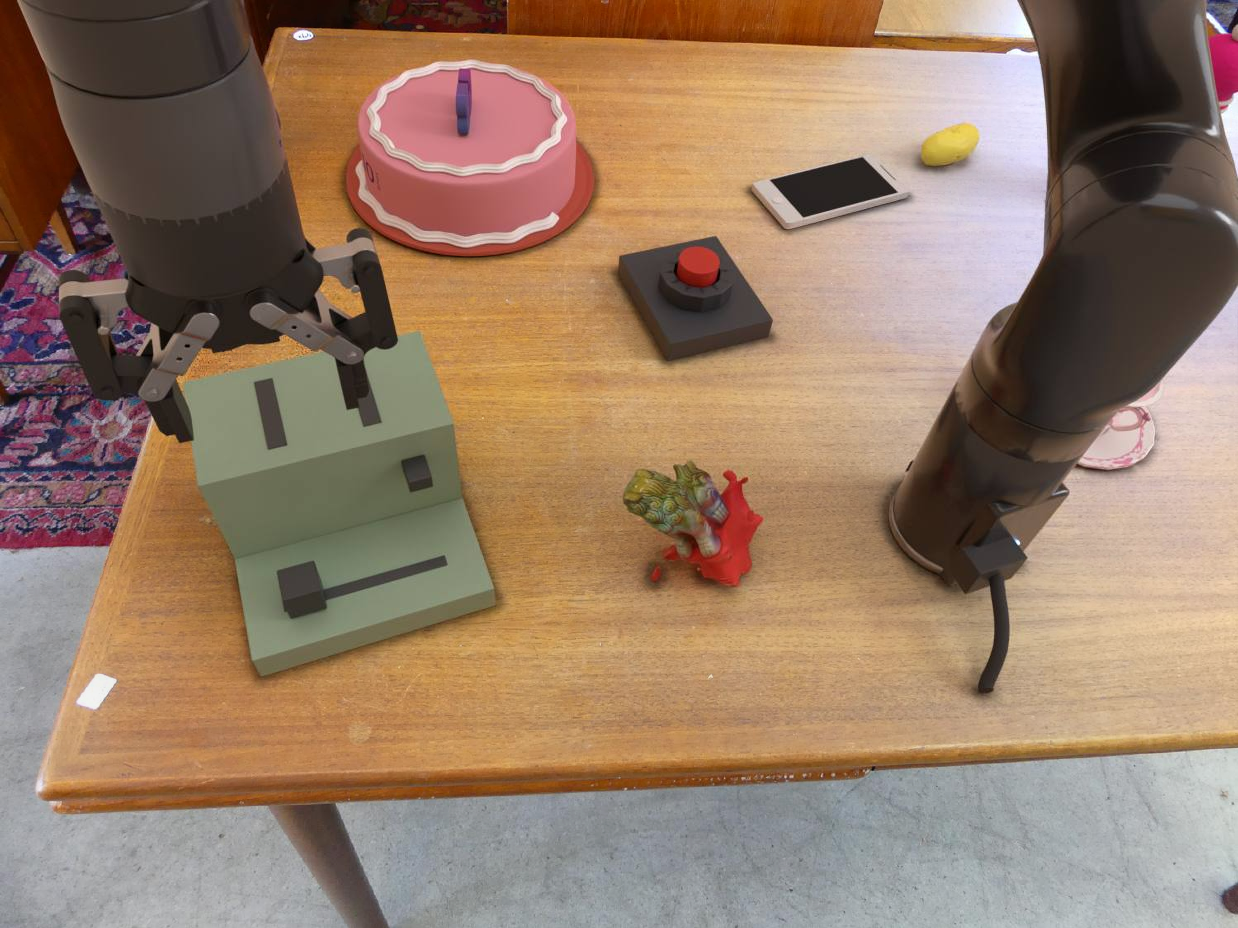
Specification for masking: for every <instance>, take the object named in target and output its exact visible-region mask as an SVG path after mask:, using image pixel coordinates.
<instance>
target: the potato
mask: <svg viewBox="0 0 1238 928" xmlns="http://www.w3.org/2000/svg"><path fill="white" fill-rule="evenodd" d="M979 140H980V132H979V129H978V128H977V126H975V125H974V124H972V123H969V122H961V123H957V124H955V125H950V126H947V127H944V129H942V130H940V131H936V132H935V133H933V134H930V135H929V136H928V137H927V138H926V139H925V140H924V141H923V143H922V146H921V149H920V150H921V151H920V157H921V160H922V162H923V164H925V165H927V166H930V167H936V166H946V165H951V164H954V163H957V162H961V161H964V160H965V159H967V158H968V157H969V155H971V154H972V153H973V151H974V150H975V149H976V147H977V146H978V144H979Z"/></svg>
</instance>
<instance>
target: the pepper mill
mask: <svg viewBox="0 0 1238 928" xmlns="http://www.w3.org/2000/svg"><path fill="white" fill-rule="evenodd" d="M1208 41H1209V48H1210V54H1211V60H1212V67H1213V73H1214V80H1215V86H1216V91H1217V97H1218V102H1219V107H1220V112H1221V115H1222V114H1224V113H1225V112H1227V110H1228V108H1229V105H1230V104H1231V103H1233V101H1234V98H1235V94H1236V93H1238V23H1237V24H1236V25H1234V27H1233V29H1232V31H1231V33H1229V32H1227V33H1218V34H1217V33H1216V34H1214V35H1211V36H1208Z"/></svg>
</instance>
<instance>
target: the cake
mask: <svg viewBox="0 0 1238 928" xmlns="http://www.w3.org/2000/svg"><path fill="white" fill-rule="evenodd" d="M576 122H577V121H576V117H575V113H574V110H573V108H572V105H570V103H569V101H568V100H567V98H566V97H565V96H564V95H563V94H562V92H560V91H559V90H558V89H557V88H556V87H555V86H554V85H552V84H551V83H550V82H548V81H546V80H545V79H542V78H540V77H539V76H537V75H536V74H533V73H531V72H528V71H525V70H522V69H519V68H517V67H512V66H511V65H508V64H503V63H501V64H500V63H493V62H485V61H481V60H477V59H467V60H466V59H465V60H457V61H436V62H432V63H431V64H426V65H422V66H418V67H415V68H412V69H407V70H405V71H403V72H401V73H399V74H396V75H395V76H393V77H391V78H389V79H387V80H385V81H384V82H382V83H381V84H379V85H378V86H377V87H375V88H374V89H373V90H372V91H371V92H370V94H369V95H368V96H367V97H366V98H365V100H364V101H363V103H362V105H361V107H360V109H359V112H358V116H357V136H358V143H359V144H358V146H357V147H356V148H355V150H354V151H353V152H352V155H351V156H350V159H349V161H348V163H347V168H346V175H345V186H346V192H347V195H348V199H349V201H350V203H351V205H352V207H353V208H354V210H355V212H357V213H356V214H358V215H359V217H361V218H362V220H363V221H364V222H365V223H366V224H368V225H369V226H370V227H371V228H372V229H374V230H375V231H377V232H379V234H381V235H383V236H385V237H386V238H388V239H391V240H393V241H395V242H396V243H398V244H402V245H404V246H407V247H410V248H412V249H416V250H419V251H424V252H429V253H434V254H438V255H445V256H456V257H457V256H458V257H482V256H483V257H485V256H493V255H501V254H507V253H513V252H517V251H521V250H524V249H528V248H530V247H534V246H536V245H538V244H541V243H544V242H546V241H548V240H550V239H552V238H554V237H556V236H557V235H559V234H561V233H562V232H563V231H565V230H566V229H568V228H570V226H571V225H572V224H574V223H575V222H576V221H577V220H578V219H579V218H580V217H581V215H582V214H583V213H584V211H585V210H586V209H587V207H588V205H589V204H590V201H591V199H592V196H593V193H594V187H595V176H594V170H593V165H592V163H591V160H590V158H589V156H588V153H587V152H586V151H585V149H584V147H583V146H582V145H581V144H580V143H579V142H578V141H577V123H576Z"/></svg>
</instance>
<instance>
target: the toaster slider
mask: <svg viewBox="0 0 1238 928" xmlns="http://www.w3.org/2000/svg"><path fill="white" fill-rule="evenodd" d="M277 577H278V582H279V587H280V592H281V597H282V601H283V603H284V606H285V608H286V610H287V612H288V614H289V617H290V618H291V619H293V618H296V617H300V616H303V615H306V614H310V613H313V612H317V611H320V610H324V609H327V603H326V599H325V595H324V590H323V586H322V581H321V578H320V575H319V573H318V570H317V567H316V565H315V562H314V561H310V562H306V563H302V564H299V565H295V566H292V567H288V568H284V569H281V570H277Z"/></svg>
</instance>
